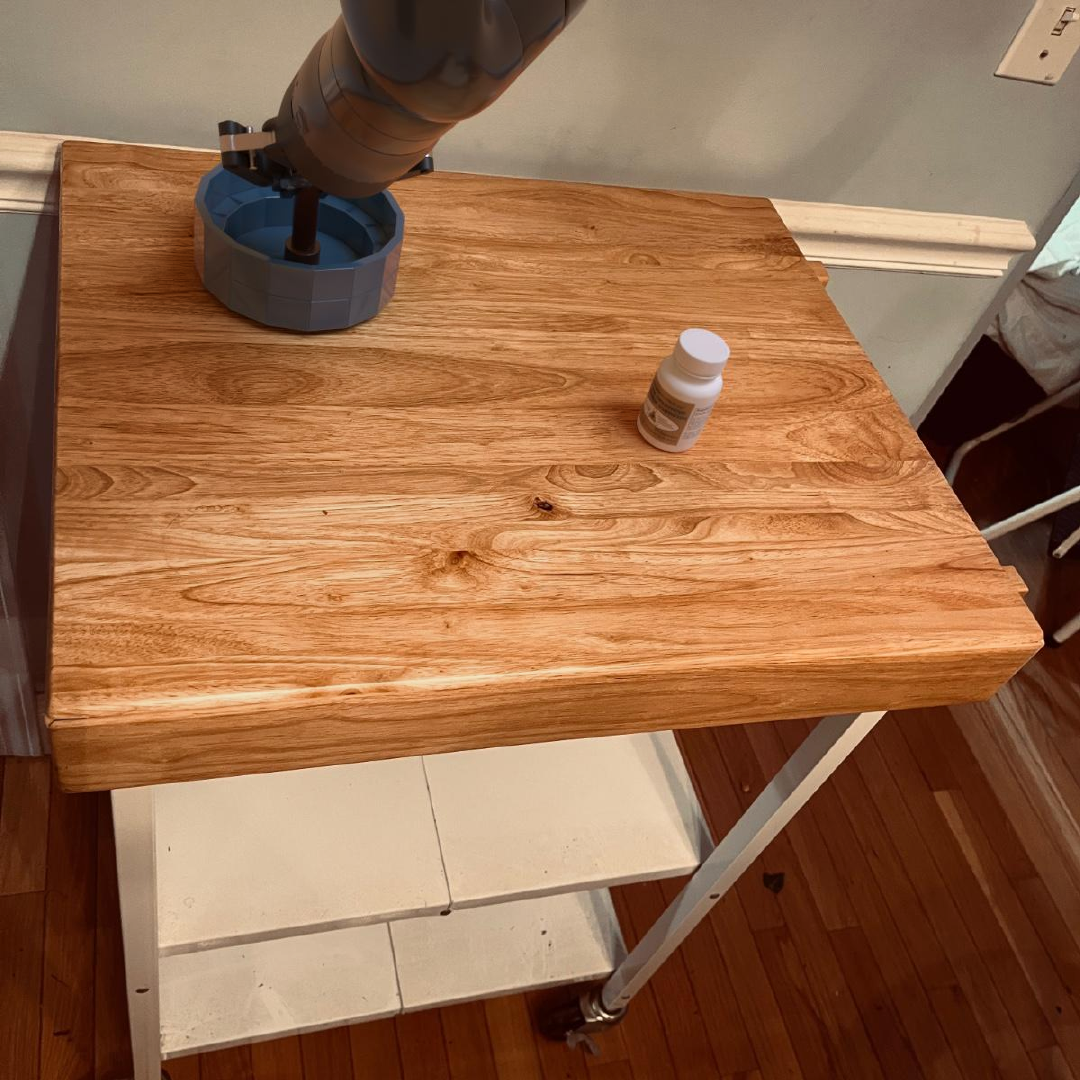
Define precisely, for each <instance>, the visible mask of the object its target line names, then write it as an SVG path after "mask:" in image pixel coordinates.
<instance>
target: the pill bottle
mask: <svg viewBox="0 0 1080 1080" xmlns="http://www.w3.org/2000/svg"><path fill="white" fill-rule="evenodd" d="M730 354H731V351H730V347H729V345H728V343H727V342H726V341H725V340H724V339H723V338H722V337H721V336H720V335H718V334H716V333H715V332H713V331H710V330H707V329H704V328H699V327H697V328H696V327H695V328H694V327H692V328H687V329H685V330H683V331H682V332H681V333H680V335H679V336H678V338H677V340H676V343H675V345H674V347H673V351H672V353H671V354H667V356H665V357H664V358H663V359H662V360H661V361H660V364H659V365H658V367H657V369H656V372H655V374H654V377H653V379H652V382H651V385H650V386H649V389H648V391H647V394H646V397H645V399H644V400H643V403H642V406H641V409H640V411H639V413H638V415H637V420H636V425H637V429H638V431H639V433H640V434H641V436H642V437H643V438H644V440H646V442H648V444H651V445H652V446H653V447H655V448H657V449H659V450H662V451H665V452H668V453H682V452H686V451H688V450H690V449H692V448H693V447H694V446H695V445H696V443H697V441H698V440H699V438H700V435H701V434H702V431H703V430H704V428H705V425H706V423H707V421H708V419H709V417H710V416H711V413H712V411H713V408H714V407H715V405H716V403H717V400H718V399H719V396H720V394H721V391H722V388H723V377H722V373H723V371H724V370H725V367H726V365H727V362H728V361H729V357H730Z"/></svg>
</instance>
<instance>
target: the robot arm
mask: <svg viewBox="0 0 1080 1080" xmlns="http://www.w3.org/2000/svg"><path fill="white" fill-rule="evenodd" d="M588 1H589V0H339V4H340V9H341V13H340V14H339V15H338V17H337V19H336V20H335V22H334V23H333V25H332V27H331V28H329V29H328V30H327V31H326V32H325V33H323V34H322V35H321V36H320V38H319V39H318V40H317V41H316V43H315V44H314V45H313V46H312V48H311V50H310V52H309V53H308V54H307V56H306V58H305V59H304V61H303V62H302V64H301V66H299V69H298V70H297V72H296V73H295V75H294V77H293V78H292V80H291V82H290V83H289V85H288V87H287V88H286V90H285V92H284V94H283V97H282V100H281V103H280V105H279V109H278V113H277V115H276V116H274V117H270V118H268V119H266V120H265V121H264V122H263V124H262V126H261V131H256V132H254V127H253V126H251V125H245V126H244V125H243V124H241V123H240V122H238V121H234V120H231V119H227V120H226V119H225V120H223V121H220V122H218V123H217V128H218V136H219V137H218V141H219V148H220V149H219V150H220V156H221V162H222V166H223V168H224V169H226V170H228V171H229V172H231V173H233V174H235V175H237V176H239V177H241V178H243V179H244V180H246V181H248V182H250V183H252V184H254V185H256V186H260V187H268V186H270V185H271V187H272V191H273V192H279V194H280V198H281V199H292V198H293V196H294V195H295V194H296V193H297V192H298V191H299V190H300V189H301V187H311V186H312V185H314V186H315V187H317V188H318V189H320V199H324V198H325V197H326V196H328V195H329V194H331V195H334V196H337V197H342V198H352V199H354V198H365V197H369V196H372V195H375V194H377V193H380V192H381V191H383V190H385V189H388V188H390V187H391V186H392V185H393V184H394V183H396V182H400V181H404V180H408V179H411V178H416V177H420V176H426V175H429V174H432V173H434V172H435V165H434V154H433V150H434V148H435V146H436V145H437V144H438V143H439V141H440V140H441V138H442V137H443V136H445V134H447V133H448V132H449V131H450V130H452V129H454V128H455V126H457V125H458V124H459V123H460V122H462V121H465V120H469V119H471V118H473V117H475V116H477V115H479V114H480V113H482V112H483V111H484V110H486V109H487V108H489V107H491V105H493V104H494V103H495V102H497V101H498V99H499V98H500V97H501V96H502V95H503V94H504V93H505V92H506V91H507V90H508V89H509V88H510V87H511V86H512V85H513V83H515V82H516V81H517V79H518V78H519V77H520V76H521V75H522V74H523V73H524V72H525V71H526V69H527V68H529V66H531V64H532V63H533V62H534V61H536V59H537V58H538V57H539V56H540V55H541V54H542V53H544V52H545V50H546V49H547V48H548V47H549V46H550V45H551V44H552V43H553V42H554V41H555V40H556V38H557V37H558V36H559V35H560V34H561V33H562V32H564V30H566V28H567V27H568V26H569V25H570V24H571V23H572V22H573V21H574V20H575V19H576V17H577V16H579V14H580V13H581V11H582V10H583V9H584V7H585V6H586V5H587V3H588Z"/></svg>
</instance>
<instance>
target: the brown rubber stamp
mask: <svg viewBox="0 0 1080 1080" xmlns="http://www.w3.org/2000/svg"><path fill="white" fill-rule="evenodd" d="M319 199H320V189H318V188H317V187H315V186H314V185H312V186H311V187H301V189H300V190H299V191H298V192H297V193H296V194H295V200H294V213H293V226H292V236H290V237H288V238H287V239H286V241H285V251H284V260H285V261H291V262H297V263H302V264H308V265H319V260H320V250H321V246H320V243H319V242H318V241H317V240H316V230H317V220H318V209H319Z"/></svg>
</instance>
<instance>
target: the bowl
mask: <svg viewBox="0 0 1080 1080" xmlns="http://www.w3.org/2000/svg"><path fill="white" fill-rule="evenodd" d="M294 200H295V195H294V196H293V198H292V199H281V198H280V194H279V192H273V191H272V187H271V185H270V186H268V187H260V186H256V185H254V184H252V183H250V182H248V181H246V180H244V179H243V178H241V177H239V176H237V175H235V174H233V173H231V172H229V171H228V170H226V169H224V168H223V166H222V161H221V162H219V163H218V164H217V165H216V166H214V167H213V168H212V169H210V170H209V171H207V172H206V173H205V174H203V175H202V176H201V177H200V180H199V182H198V186H197V189H196V192H195V196H194V198H193V209H194V210H193V264H194V265H195V268H196V270H197V274H198V276H199V278H200V281H201V283H202V286H203V287H204V288H205V289H206V290H207V291H209V293H210V294H212V295H213V296H214V297H215V298H216V299H217V300H219V301H220V302H221V303H222V304H223V305H224V306H225V307H227V308H228V309H229V310H230V311H233V312H235V313H237V314H239V315H242V316H244V317H246V318H249V319H251V320H254V321H256V322H258V323H261V324H263V325H265V326H270V327H277V328H282V329H289V330H295V331H296V330H297V331H302V332H315V331H318V332H319V331H327V330H340V329H346V328H350V327H353V326H355V325H357V324H360V323H362V322H364V321H366V320H369V319H371V318H374V317H377V316H378V314H379V313H380V312H381V311H382V310H383V309H384V307H385V306H386V305H387V304H388V303H389V302H390V300H391V299H392V298H393V297H394V296H395V291H396V290H395V289H396V284H397V278H398V272H399V266H400V261H401V253H402V248H403V241H404V235H405V222H406V221H405V220H406V215H405V213H404V212H403V210H402V208H401V207H400V204H399V203H398V201H397V200H396V198H395V195H394V194H393V193H392V192H391V191H390V190H388V188H386V189H385V190H383V191H381V192H380V193H377V194H375V195H372V196H369V197H365V198H354V199H352V198H342V197H337V196H334V195H331V194H329V195H328V196H326V197H325V198H324V199H319V209H318V220H317V230H316V240H317V241H318V242H319V243H320V246H321V250H320V260H319V265H308V264H302V263H297V262H291V261H285V260H284V251H285V241H286V239H287V238H288V237H290V236H292V226H293V213H294Z"/></svg>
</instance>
